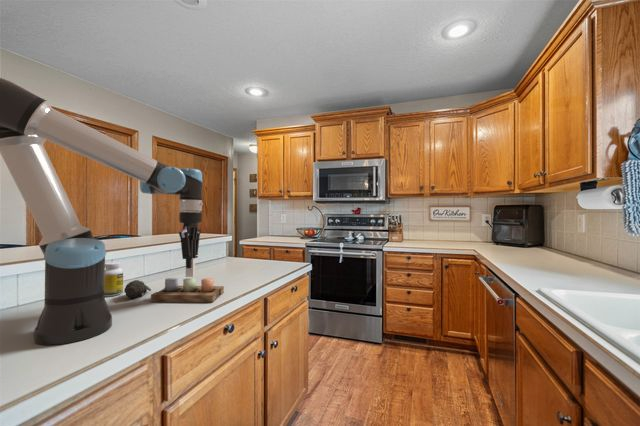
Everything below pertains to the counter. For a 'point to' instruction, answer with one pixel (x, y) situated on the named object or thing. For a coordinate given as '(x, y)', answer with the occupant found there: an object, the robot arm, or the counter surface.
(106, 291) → the pill bottle
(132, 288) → the hand grenade
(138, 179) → the robot arm
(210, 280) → the terracotta button
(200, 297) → the wooden tray
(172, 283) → the grey cylinder
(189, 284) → the sage button
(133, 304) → the counter surface
